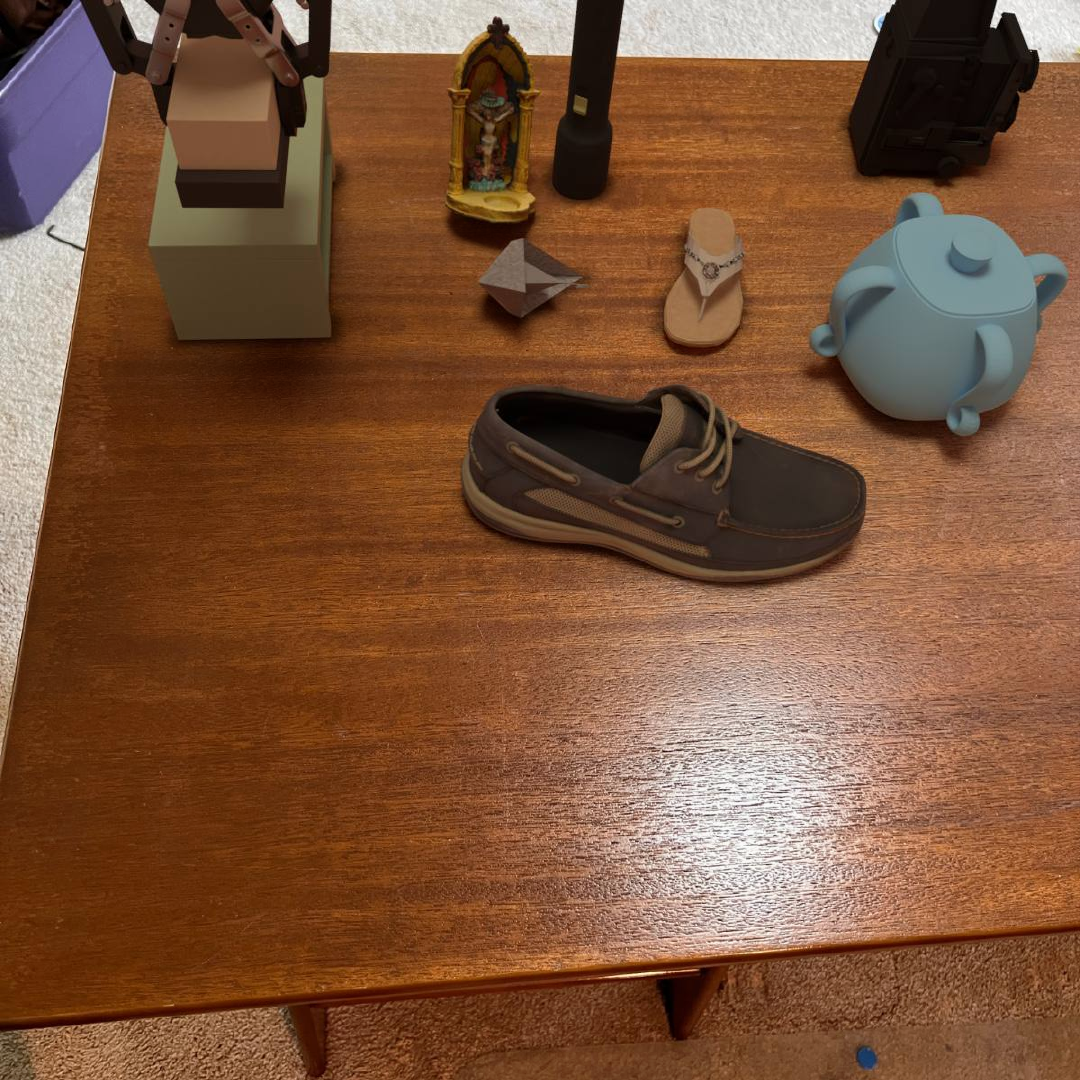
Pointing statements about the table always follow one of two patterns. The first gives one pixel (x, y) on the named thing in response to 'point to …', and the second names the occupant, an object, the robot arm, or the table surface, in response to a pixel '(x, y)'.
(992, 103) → the camera
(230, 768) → the table surface
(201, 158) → the board eraser
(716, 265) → the sandal
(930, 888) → the table surface
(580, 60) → the flashlight
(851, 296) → the decorative pot
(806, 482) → the boat shoe
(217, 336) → the olive green lidded box
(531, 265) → the paper boat
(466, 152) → the shrine
